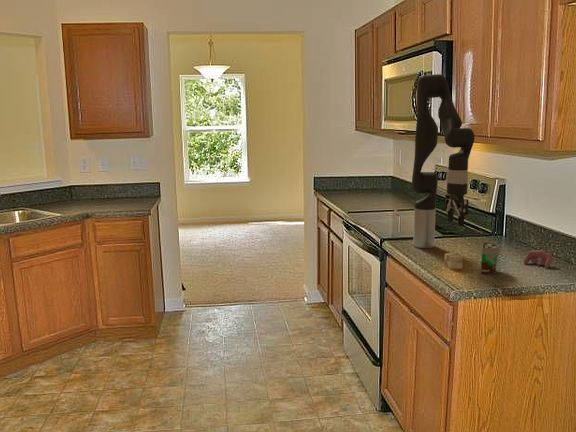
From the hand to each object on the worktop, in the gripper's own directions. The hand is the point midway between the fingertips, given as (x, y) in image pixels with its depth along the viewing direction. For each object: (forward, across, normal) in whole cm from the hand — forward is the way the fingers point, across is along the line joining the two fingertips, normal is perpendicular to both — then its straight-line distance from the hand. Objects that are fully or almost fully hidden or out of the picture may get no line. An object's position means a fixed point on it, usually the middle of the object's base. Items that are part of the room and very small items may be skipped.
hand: (455, 223), depth 214 cm
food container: (+18, +8, +11) cm, 22 cm away
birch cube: (+17, 0, 0) cm, 17 cm away
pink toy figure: (+18, +4, +34) cm, 38 cm away
